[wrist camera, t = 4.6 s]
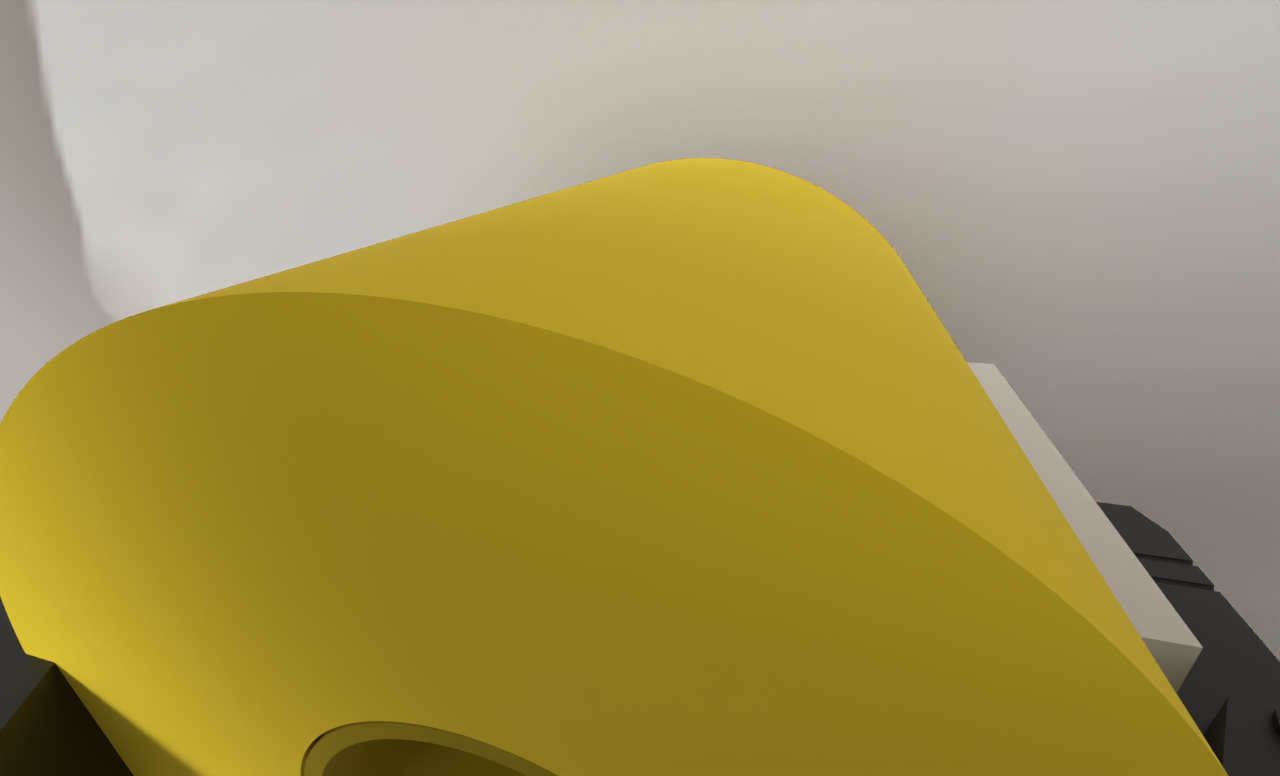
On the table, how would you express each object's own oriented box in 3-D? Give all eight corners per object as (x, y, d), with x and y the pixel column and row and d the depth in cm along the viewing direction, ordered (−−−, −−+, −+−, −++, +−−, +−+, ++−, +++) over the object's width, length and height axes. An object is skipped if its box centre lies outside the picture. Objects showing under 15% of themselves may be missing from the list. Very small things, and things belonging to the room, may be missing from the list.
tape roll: (524, 101, 11) (-281, 57, 3) (1044, 241, 10) (2249, 890, 2) (483, 484, 16) (137, 873, 8) (827, 614, 15) (848, 1250, 6)
